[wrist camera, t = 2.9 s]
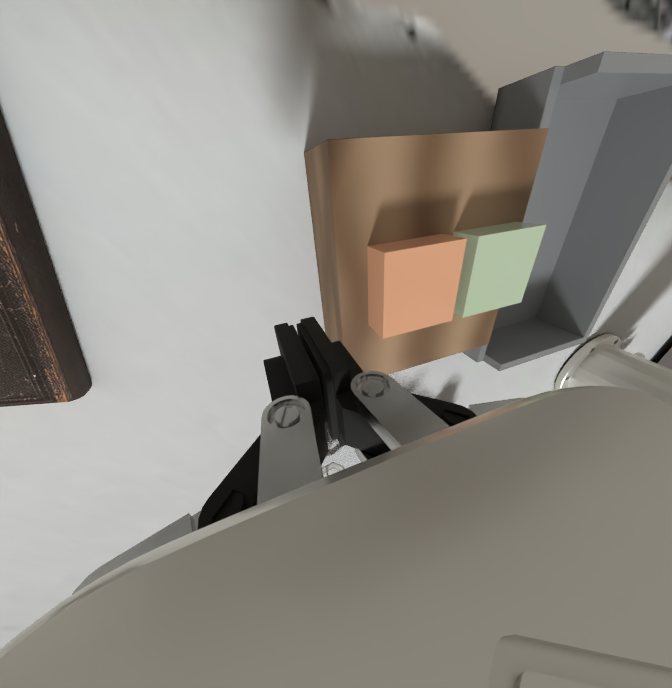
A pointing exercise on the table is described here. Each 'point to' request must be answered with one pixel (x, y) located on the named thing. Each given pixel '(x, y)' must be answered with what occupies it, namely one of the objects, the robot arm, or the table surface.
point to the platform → (409, 223)
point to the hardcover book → (31, 304)
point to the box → (583, 192)
